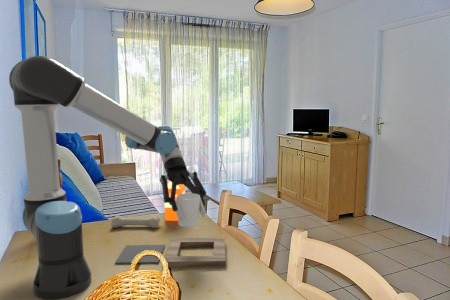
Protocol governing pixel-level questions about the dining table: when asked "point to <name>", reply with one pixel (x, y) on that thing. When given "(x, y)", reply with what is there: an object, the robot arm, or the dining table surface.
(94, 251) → the dining table surface
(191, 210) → the white cup
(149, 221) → the dog toy
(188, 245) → the puzzle board
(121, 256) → the rubber mat
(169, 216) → the orange juice
